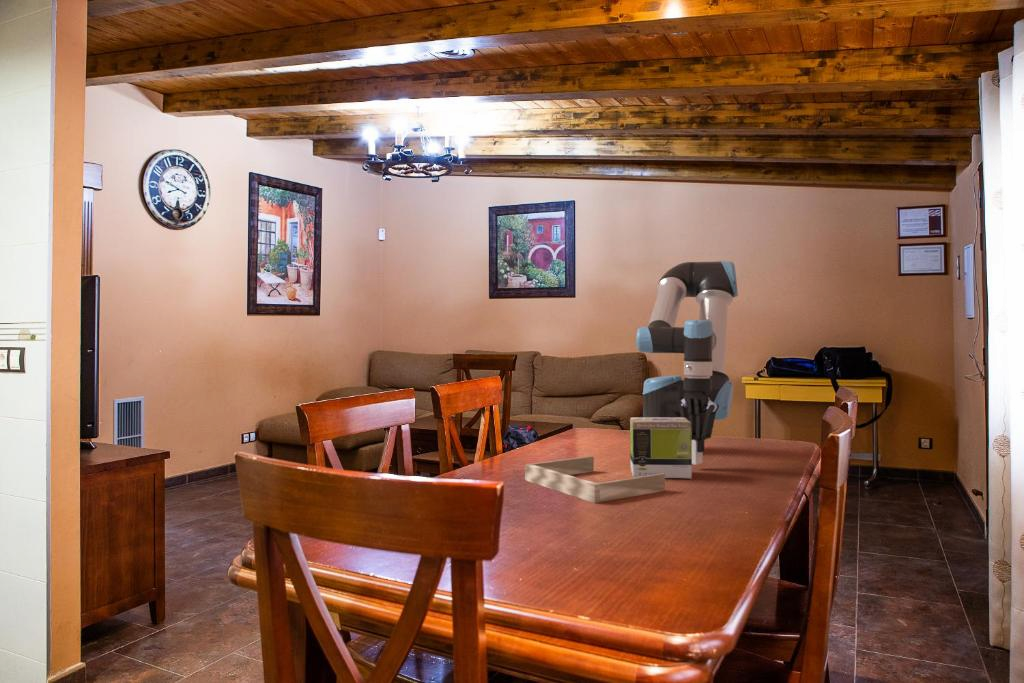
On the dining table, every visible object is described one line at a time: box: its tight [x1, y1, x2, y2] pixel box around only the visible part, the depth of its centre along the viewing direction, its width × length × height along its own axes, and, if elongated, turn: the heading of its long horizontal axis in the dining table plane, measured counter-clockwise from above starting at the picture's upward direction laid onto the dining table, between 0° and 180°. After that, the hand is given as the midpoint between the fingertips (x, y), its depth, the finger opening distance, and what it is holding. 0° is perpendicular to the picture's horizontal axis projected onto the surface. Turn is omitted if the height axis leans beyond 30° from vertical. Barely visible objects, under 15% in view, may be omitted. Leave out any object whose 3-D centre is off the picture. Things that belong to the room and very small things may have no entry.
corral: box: [524, 455, 666, 504], centre depth 174 cm, size 27×22×4 cm
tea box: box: [629, 416, 693, 479], centre depth 187 cm, size 15×10×15 cm, turn 84°
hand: (696, 463), depth 194 cm, fingers closed
